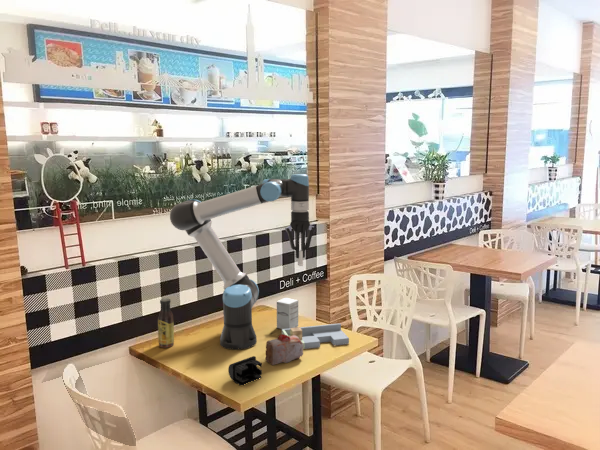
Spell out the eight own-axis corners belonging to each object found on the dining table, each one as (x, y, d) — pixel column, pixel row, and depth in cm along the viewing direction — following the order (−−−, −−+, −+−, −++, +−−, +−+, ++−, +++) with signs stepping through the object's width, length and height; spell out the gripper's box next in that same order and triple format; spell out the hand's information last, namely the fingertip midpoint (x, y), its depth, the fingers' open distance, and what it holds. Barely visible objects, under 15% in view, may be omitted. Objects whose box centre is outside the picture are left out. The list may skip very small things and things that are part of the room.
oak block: (292, 340, 205) (292, 331, 205) (290, 337, 209) (290, 328, 208) (302, 339, 206) (302, 330, 206) (299, 336, 210) (299, 327, 209)
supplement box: (276, 328, 227) (275, 301, 224) (285, 323, 233) (285, 296, 231) (289, 331, 222) (289, 304, 220) (299, 326, 228) (298, 299, 226)
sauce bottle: (155, 345, 207) (153, 299, 204) (168, 341, 212) (166, 296, 209) (164, 350, 203) (162, 302, 200) (177, 345, 208) (175, 299, 204)
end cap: (251, 371, 184) (250, 353, 183) (263, 377, 179) (262, 359, 178) (228, 379, 177) (227, 361, 176) (240, 386, 172) (239, 368, 171)
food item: (294, 352, 200) (293, 328, 199) (304, 359, 194) (304, 335, 192) (263, 360, 193) (263, 335, 192) (273, 367, 187) (273, 342, 185)
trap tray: (340, 334, 219) (340, 323, 218) (348, 343, 208) (349, 332, 207) (281, 340, 212) (281, 329, 211) (287, 350, 202) (287, 338, 201)
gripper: (287, 212, 207) (287, 268, 211) (317, 211, 210) (317, 266, 214) (282, 210, 214) (283, 264, 218) (312, 209, 217) (312, 262, 221)
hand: (300, 265), depth 216 cm, fingers closed
